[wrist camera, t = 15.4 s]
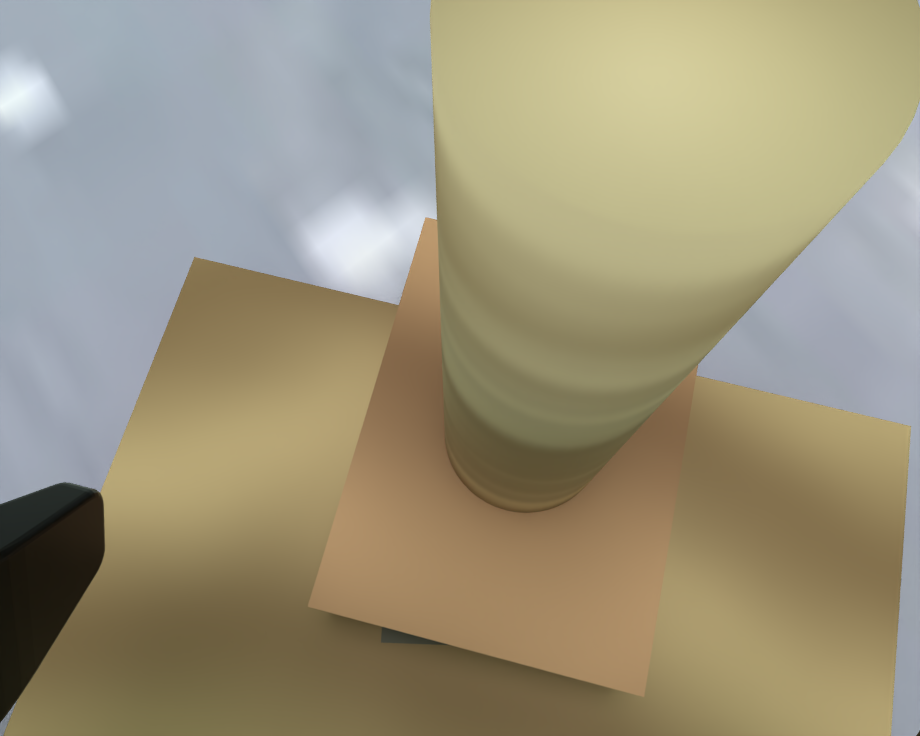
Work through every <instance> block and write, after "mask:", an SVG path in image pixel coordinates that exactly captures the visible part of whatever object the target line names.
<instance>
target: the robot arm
mask: <svg viewBox="0 0 920 736" xmlns="http://www.w3.org/2000/svg"><path fill="white" fill-rule="evenodd" d="M104 553H105V526H104V502H103V497H102V495H101V494H100V492H98V491H97V490H95V489H92V488H88V487H84V486H80V485H76V484H73V483H66V482H64V483H59V484H55V485H53V486H50V487H47V488H44V489H41V490H39V491H36V492H33V493H30V494H28V495H25V496H22V497H19V498H16V499H14V500H11V501H8V502H5V503H3V504H0V722H1V721H2V720H3V718H4V717H5V716H6V715H7V713H8V712H9V710H10V709H11V708H12V706H13V705H14V704H15V702H16V701H17V699H18V698H19V697H20V695H21V694H22V693H23V691H24V690H25V688H26V686H27V685H28V683H29V682H30V680H31V679H32V677H33V676H34V674H35V673H36V671H37V669H38V668H39V666H40V665H41V663H42V661H43V660H44V658H45V656H46V655H47V653H48V652H49V650H50V648H51V647H52V645H53V643H54V642H55V640H56V639H57V637H58V635H59V634H60V632H61V630H62V629H63V627H64V626H65V624H66V622H67V621H68V619H69V617H70V616H71V614H72V613H73V611H74V609H75V608H76V606H77V604H78V603H79V601H80V600H81V598H82V596H83V595H84V593H85V591H86V590H87V588H88V587H89V585H90V583H91V582H92V580H93V578H94V577H95V575H96V574H97V572H98V570H99V568H100V566H101V564H102V561H103V558H104ZM917 736H920V731H919V733H918V734H917Z"/></svg>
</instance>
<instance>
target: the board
mask: <svg viewBox="0 0 920 736" xmlns="http://www.w3.org/2000/svg"><path fill="white" fill-rule="evenodd" d="M398 307H399V305H395V304H391V303H387V302H383V301H378V300H374V299H370V298H366V297H361V296H357V295H353V294H349V293H344V292H340V291H336V290H332V289H327V288H323V287H319V286H315V285H311V284H306V283H302V282H298V281H294V280H289V279H285V278H281V277H277V276H272V275H268V274H264V273H260V272H256V271H251V270H247V269H243V268H239V267H234V266H230V265H226V264H222V263H217V262H213V261H209V260H205V259H200V258H196V257H194V260H193V262H192V265H191V267H190V270H189V272H188V275H187V277H186V280H185V282H184V285H183V287H182V290H181V292H180V295H179V297H178V300H177V302H176V305H175V307H174V310H173V312H172V315H171V317H170V320H169V322H168V325H167V327H166V330H165V332H164V335H163V337H162V340H161V342H160V345H159V347H158V350H157V352H156V355H155V357H154V360H153V362H152V365H151V367H150V370H149V372H148V375H147V377H146V380H145V382H144V385H143V387H142V390H141V392H140V395H139V397H138V400H137V402H136V405H135V407H134V410H133V412H132V415H131V417H130V420H129V422H128V425H127V427H126V430H125V432H124V435H123V437H122V440H121V442H120V445H119V447H118V450H117V452H116V455H115V457H114V460H113V462H112V465H111V467H110V470H109V472H108V475H107V477H106V480H105V482H104V485H103V487H102V490H101V492H100V494H101V495H102V497H103V502H104V526H105V553H104V558H103V561H102V564H101V566H100V568H99V570H98V572H97V574H96V575H95V577H94V578H93V580H92V582H91V583H90V585H89V587H88V588H87V590H86V591H85V593H84V595H83V596H82V598H81V600H80V601H79V603H78V604H77V606H76V608H75V609H74V611H73V613H72V614H71V616H70V617H69V619H68V621H67V622H66V624H65V626H64V627H63V629H62V630H61V632H60V634H59V635H58V637H57V639H56V640H55V642H54V643H53V645H52V647H51V648H50V650H49V652H48V653H47V655H46V656H45V658H44V660H43V661H42V663H41V665H40V666H39V668H38V669H37V671H36V673H35V674H34V676H33V677H32V679H31V680H30V682H29V683H28V685H27V686H26V688H25V690H24V691H23V693H22V694H21V695H20V697H19V698H18V700H17V703H16V705H15V708H14V710H13V713H12V715H11V718H10V720H9V723H8V725H7V728H6V730H5V733H4V735H3V736H891V725H892V709H893V694H894V679H895V663H896V648H897V632H898V617H899V602H900V586H901V571H902V555H903V540H904V525H905V509H906V494H907V479H908V463H909V448H910V432H911V426H908V425H903V424H899V423H895V422H891V421H886V420H882V419H878V418H874V417H869V416H865V415H861V414H857V413H853V412H848V411H844V410H840V409H836V408H831V407H827V406H823V405H819V404H814V403H810V402H806V401H802V400H797V399H793V398H789V397H785V396H781V395H776V394H772V393H768V392H764V391H759V390H755V389H751V388H747V387H742V386H738V385H734V384H730V383H725V382H721V381H717V380H713V379H709V378H704V377H700V376H696V380H695V386H694V392H693V399H692V405H691V411H690V417H689V423H688V429H687V436H686V442H685V448H684V454H683V460H682V466H681V473H680V479H679V485H678V491H677V497H676V503H675V510H674V516H673V522H672V528H671V534H670V540H669V547H668V553H667V559H666V565H665V571H664V577H663V584H662V590H661V596H660V602H659V608H658V614H657V621H656V627H655V633H654V639H653V645H652V651H651V658H650V664H649V670H648V676H647V682H646V688H645V695H644V697H642V696H638V695H634V694H631V693H627V692H623V691H620V690H616V689H612V688H608V687H605V686H601V685H597V684H594V683H590V682H586V681H582V680H579V679H575V678H571V677H567V676H564V675H560V674H556V673H553V672H549V671H545V670H541V669H538V668H534V667H530V666H527V665H523V664H519V663H515V662H512V661H508V660H504V659H501V658H497V657H493V656H489V655H486V654H482V653H478V652H475V651H471V650H467V649H463V648H460V647H456V646H452V645H448V644H445V643H441V642H437V641H434V640H430V639H426V638H422V637H419V636H415V635H411V634H408V633H404V632H400V631H396V630H393V629H389V628H385V627H382V626H378V625H374V624H370V623H367V622H363V621H359V620H356V619H352V618H348V617H344V616H341V615H337V614H333V613H330V612H326V611H322V610H318V609H315V608H311V607H308V604H309V600H310V597H311V594H312V590H313V587H314V584H315V581H316V577H317V574H318V571H319V567H320V564H321V561H322V557H323V554H324V551H325V548H326V544H327V541H328V538H329V534H330V531H331V528H332V525H333V521H334V518H335V515H336V511H337V508H338V505H339V501H340V498H341V495H342V492H343V488H344V485H345V482H346V478H347V475H348V472H349V468H350V465H351V462H352V459H353V455H354V452H355V449H356V445H357V442H358V439H359V435H360V432H361V429H362V426H363V422H364V419H365V416H366V412H367V409H368V406H369V402H370V399H371V396H372V393H373V389H374V386H375V383H376V379H377V376H378V373H379V369H380V366H381V363H382V360H383V356H384V353H385V350H386V346H387V343H388V340H389V336H390V333H391V330H392V327H393V323H394V320H395V317H396V313H397V310H398Z"/></svg>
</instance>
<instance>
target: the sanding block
mask: <svg viewBox="0 0 920 736" xmlns="http://www.w3.org/2000/svg"><path fill="white" fill-rule="evenodd" d="M430 29H431V57H432V86H433V114H434V143H435V172H436V200H437V220H435V219H431V218H425V221H424V224H423V228H422V231H421V234H420V238H419V241H418V244H417V247H416V251H415V254H414V257H413V261H412V264H411V267H410V271H409V274H408V277H407V280H406V284H405V287H404V290H403V294H402V297H401V300H400V304H399V307H398V310H397V313H396V317H395V320H394V323H393V327H392V330H391V333H390V336H389V340H388V343H387V346H386V350H385V353H384V356H383V360H382V363H381V366H380V369H379V373H378V376H377V379H376V383H375V386H374V389H373V393H372V396H371V399H370V402H369V406H368V409H367V412H366V416H365V419H364V422H363V426H362V429H361V432H360V435H359V439H358V442H357V445H356V449H355V452H354V455H353V459H352V462H351V465H350V468H349V472H348V475H347V478H346V482H345V485H344V488H343V492H342V495H341V498H340V501H339V505H338V508H337V511H336V515H335V518H334V521H333V525H332V528H331V531H330V534H329V538H328V541H327V544H326V548H325V551H324V554H323V557H322V561H321V564H320V567H319V571H318V574H317V577H316V581H315V584H314V587H313V590H312V594H311V597H310V600H309V604H308V607H311V608H315V609H318V610H322V611H326V612H330V613H333V614H337V615H341V616H344V617H348V618H352V619H356V620H359V621H363V622H367V623H370V624H374V625H378V626H382V627H385V628H389V629H393V630H396V631H400V632H404V633H408V634H411V635H415V636H419V637H422V638H426V639H430V640H434V641H437V642H441V643H445V644H448V645H452V646H456V647H460V648H463V649H467V650H471V651H475V652H478V653H482V654H486V655H489V656H493V657H497V658H501V659H504V660H508V661H512V662H515V663H519V664H523V665H527V666H530V667H534V668H538V669H541V670H545V671H549V672H553V673H556V674H560V675H564V676H567V677H571V678H575V679H579V680H582V681H586V682H590V683H594V684H597V685H601V686H605V687H608V688H612V689H616V690H620V691H623V692H627V693H631V694H634V695H638V696H642V697H644V695H645V688H646V682H647V676H648V670H649V664H650V658H651V651H652V645H653V639H654V633H655V627H656V621H657V614H658V608H659V602H660V596H661V590H662V584H663V577H664V571H665V565H666V559H667V553H668V547H669V540H670V534H671V528H672V522H673V516H674V510H675V503H676V497H677V491H678V485H679V479H680V473H681V466H682V460H683V454H684V448H685V442H686V436H687V429H688V423H689V417H690V411H691V405H692V399H693V392H694V386H695V380H696V374H697V368H698V364H699V363H700V362H701V360H702V359H703V358H704V357H705V356H706V355H707V354H708V353H709V352H710V351H711V350H712V349H713V347H714V346H715V345H716V344H717V343H718V342H719V341H720V340H721V339H722V338H723V337H724V336H725V334H726V333H727V332H728V331H729V330H730V329H731V328H732V327H733V326H734V325H735V324H736V323H737V321H738V320H739V319H740V318H741V317H742V316H743V315H744V314H745V313H746V312H747V311H748V310H749V309H750V307H751V306H752V305H753V304H754V303H755V302H756V301H757V300H758V299H759V298H760V297H761V296H762V294H763V293H764V292H765V291H766V290H767V289H768V288H769V287H770V286H771V285H772V284H773V283H774V281H775V280H776V279H777V278H778V277H779V276H780V275H781V274H782V273H783V272H784V271H785V270H786V268H787V267H788V266H789V265H790V264H791V263H792V262H793V261H794V260H795V259H796V258H797V257H798V255H799V254H800V253H801V252H802V251H803V250H804V249H805V248H806V247H807V246H808V245H809V244H810V242H811V241H812V240H813V239H814V238H815V237H816V236H817V235H818V234H819V233H820V232H821V231H822V229H823V228H824V227H825V226H826V225H827V224H828V223H829V222H830V221H831V220H832V219H833V218H834V216H835V215H836V214H837V213H838V212H839V211H840V210H841V209H842V208H843V207H844V206H845V205H846V203H847V202H848V201H849V200H850V199H851V198H852V197H853V196H854V195H855V194H856V193H857V192H858V190H859V189H860V188H861V187H862V186H863V185H864V184H865V183H866V182H867V181H868V180H869V179H870V178H871V176H872V175H873V174H874V173H875V172H876V171H877V170H878V169H879V168H880V167H881V166H882V165H883V163H884V162H885V161H886V160H887V158H888V157H889V156H890V154H891V153H892V152H893V151H894V149H895V148H896V147H897V146H898V144H899V143H900V142H901V140H902V138H903V136H904V135H905V133H906V131H907V129H908V127H909V125H910V123H911V122H912V120H913V118H914V116H915V113H916V110H917V107H918V104H919V101H920V7H919V4H918V1H917V0H431V9H430Z"/></svg>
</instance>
